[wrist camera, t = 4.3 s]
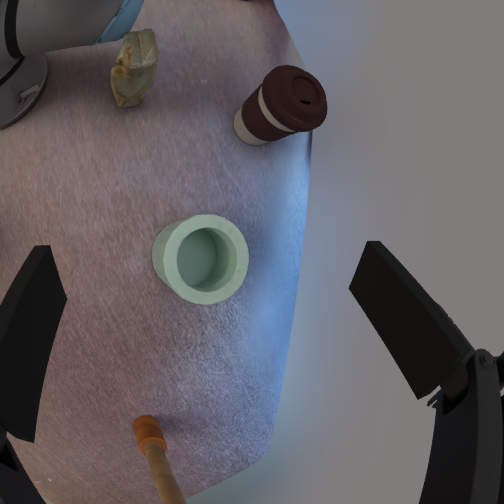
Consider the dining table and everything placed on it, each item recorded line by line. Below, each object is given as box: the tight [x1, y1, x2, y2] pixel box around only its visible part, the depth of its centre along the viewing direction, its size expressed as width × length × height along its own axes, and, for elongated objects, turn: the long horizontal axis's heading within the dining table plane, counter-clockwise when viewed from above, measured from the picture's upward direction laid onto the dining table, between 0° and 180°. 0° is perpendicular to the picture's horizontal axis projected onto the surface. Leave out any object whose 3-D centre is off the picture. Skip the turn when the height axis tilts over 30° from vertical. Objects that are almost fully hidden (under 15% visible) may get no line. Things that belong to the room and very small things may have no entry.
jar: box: [152, 214, 249, 305], centre depth 36 cm, size 10×10×10 cm
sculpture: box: [110, 29, 159, 108], centre depth 27 cm, size 6×7×15 cm
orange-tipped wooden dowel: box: [134, 416, 187, 504], centre depth 28 cm, size 4×4×22 cm
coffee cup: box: [233, 65, 327, 145], centre depth 38 cm, size 10×10×15 cm
